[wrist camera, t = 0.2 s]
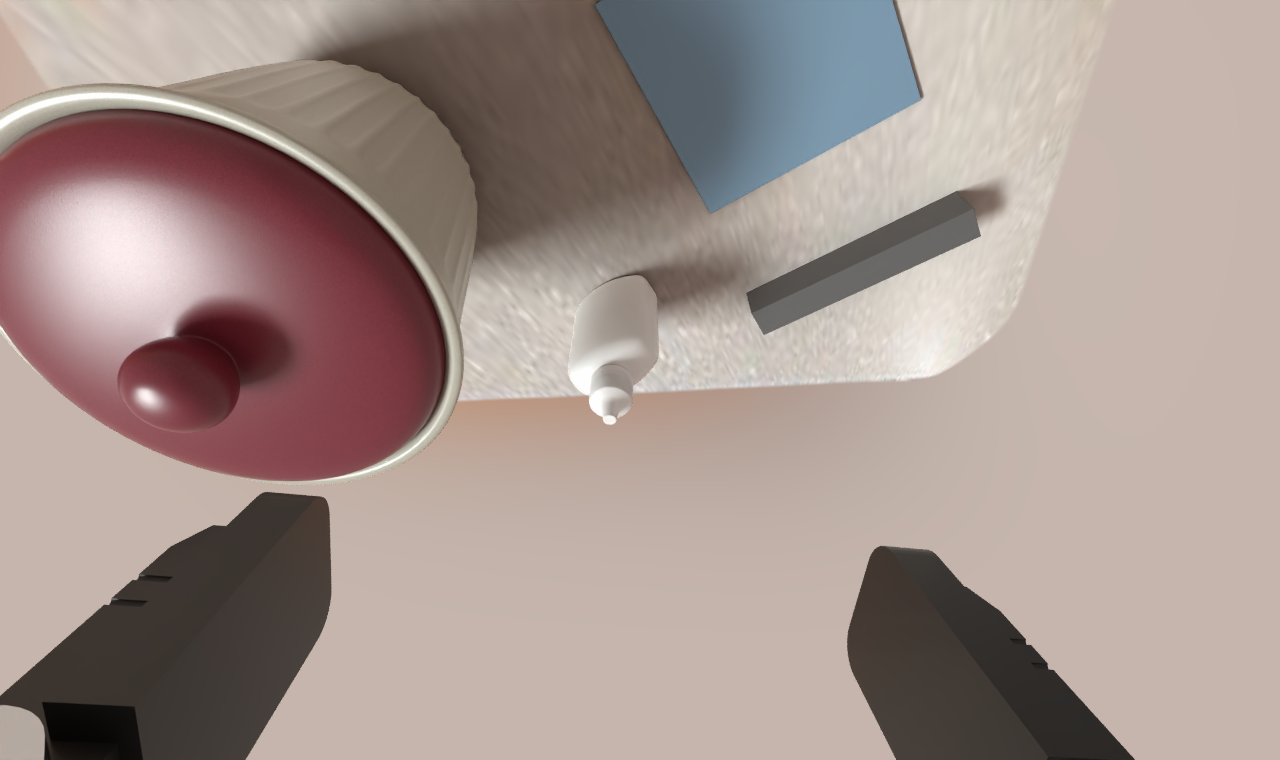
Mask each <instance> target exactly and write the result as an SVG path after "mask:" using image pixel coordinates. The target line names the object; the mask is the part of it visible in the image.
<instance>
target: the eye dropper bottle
mask: <svg viewBox="0 0 1280 760" xmlns="http://www.w3.org/2000/svg"><path fill="white" fill-rule="evenodd" d="M658 355H659V339H658V312H657V297H656V294H655V292H654V290H653V289H652V288H651V286H650V285H649V283H648V282H647V280H646V279H645V278H644V277H642V276H639V275H632V276H626V277H621V278H617V279H614V280H611V281H609V282H607V283H605V284H603V285H601V286H599V287H598V288H596V289H595V290H593V291H592V292H591V293H590V294H588V295H587V296H586V297H585V298H584V300H583V301H582V302H581V303H580V304H579V306H578V308H577V310H576V314H575V321H574V328H573V335H572V342H571V349H570V357H569V365H568V375H569V377H570V380H571V381H572V382H573V384H574V385H575V386H576V387H577V388H578V389H579V390H580V391H581V392H582V393H583V394H585V395H590V396H589V403H590V407H591V408H592V410H593V411H594V412H595V413H596V414H598V415H600V416H602V417H603V421H604V422H605V423H606V424H608V425H611V424H614V423H615V422H616V419H617V417H621V416H623V415H624V414H626V413H627V412H628V411H629V410H630V408H631V407H632V393H633V385H635V384H636V383H638V382H639V381H640V380H641V379H642V378H643V377H645V376H646V375H647V373H648V372H649V371H650V370H651V369H652V368H653V366H654V365H655V364H656V362H657V359H658Z"/></svg>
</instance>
